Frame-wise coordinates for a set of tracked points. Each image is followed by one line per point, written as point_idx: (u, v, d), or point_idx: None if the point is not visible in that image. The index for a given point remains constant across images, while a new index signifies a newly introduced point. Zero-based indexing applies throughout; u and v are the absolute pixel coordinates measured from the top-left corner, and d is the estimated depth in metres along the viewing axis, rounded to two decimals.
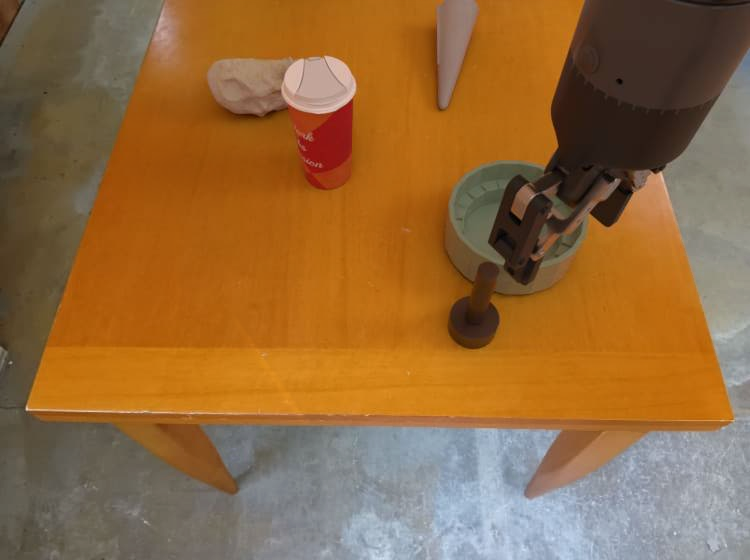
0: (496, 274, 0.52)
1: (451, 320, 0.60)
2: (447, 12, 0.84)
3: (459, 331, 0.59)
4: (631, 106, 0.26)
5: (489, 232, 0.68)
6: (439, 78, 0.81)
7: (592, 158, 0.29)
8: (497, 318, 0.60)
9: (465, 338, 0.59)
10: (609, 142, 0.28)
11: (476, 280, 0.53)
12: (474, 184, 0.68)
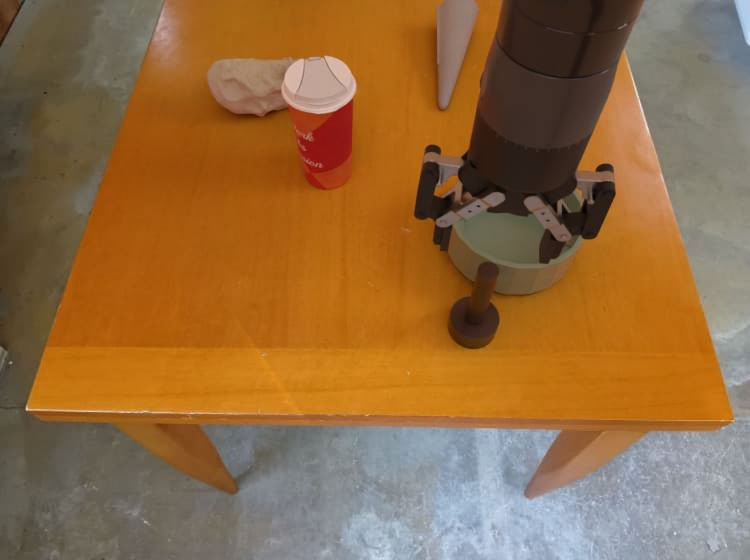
0: (496, 274, 0.52)
1: (451, 320, 0.60)
2: (447, 12, 0.84)
3: (459, 331, 0.59)
4: (484, 121, 0.35)
5: (489, 232, 0.68)
6: (439, 78, 0.81)
7: (471, 156, 0.39)
8: (497, 318, 0.60)
9: (465, 338, 0.59)
10: (476, 146, 0.37)
11: (476, 280, 0.53)
12: None
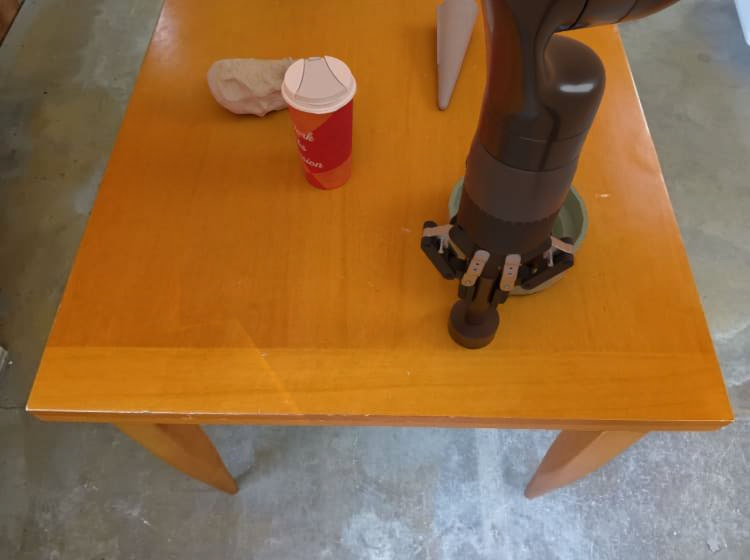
0: (496, 274, 0.52)
1: (451, 320, 0.60)
2: (447, 12, 0.84)
3: (459, 331, 0.59)
4: (469, 196, 0.42)
5: None
6: (439, 78, 0.81)
7: (459, 221, 0.45)
8: (497, 318, 0.60)
9: (465, 338, 0.59)
10: (463, 214, 0.44)
11: (476, 280, 0.53)
12: None
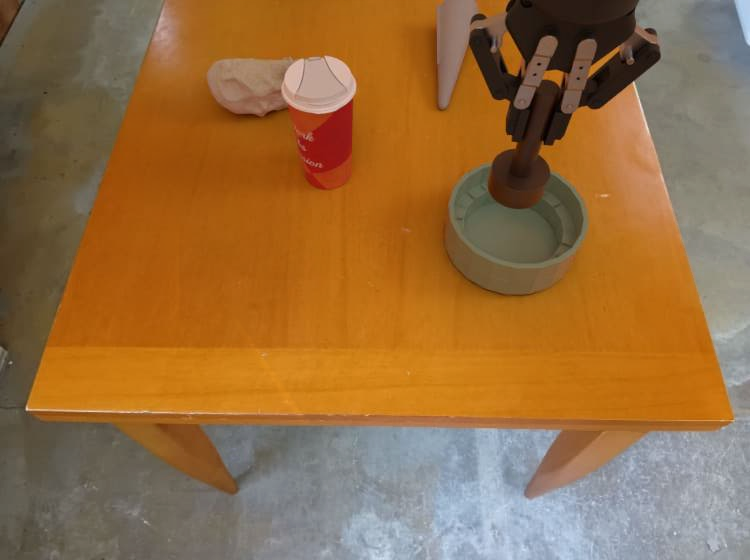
0: (556, 91, 0.43)
1: (493, 173, 0.51)
2: (447, 12, 0.84)
3: (504, 184, 0.50)
4: None
5: (489, 232, 0.68)
6: (439, 78, 0.81)
7: None
8: (547, 171, 0.51)
9: (510, 192, 0.50)
10: None
11: (530, 104, 0.44)
12: (474, 184, 0.68)
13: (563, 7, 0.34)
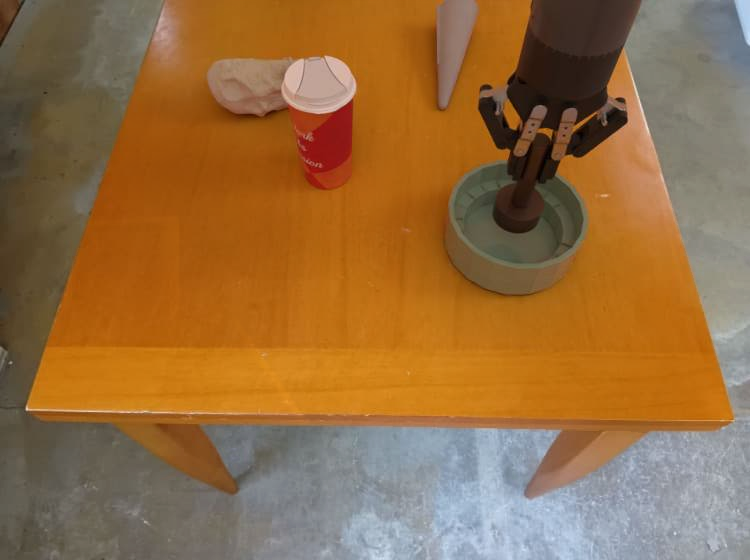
0: (548, 143, 0.54)
1: (497, 204, 0.61)
2: (447, 12, 0.84)
3: (506, 213, 0.61)
4: (534, 36, 0.43)
5: (489, 232, 0.68)
6: (439, 78, 0.81)
7: (520, 72, 0.47)
8: (542, 202, 0.61)
9: (511, 220, 0.61)
10: (526, 61, 0.45)
11: (527, 151, 0.55)
12: (474, 184, 0.68)
13: (550, 88, 0.45)
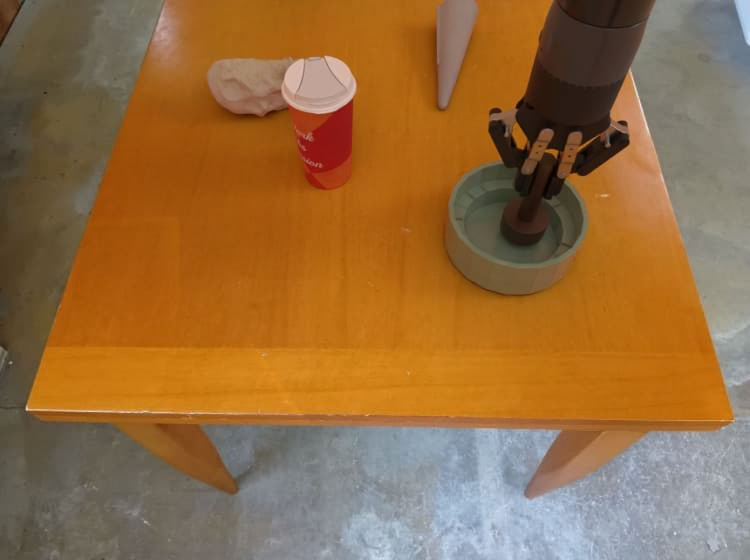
0: (553, 162, 0.57)
1: (505, 218, 0.64)
2: (447, 12, 0.84)
3: (513, 227, 0.64)
4: (542, 67, 0.46)
5: (489, 232, 0.68)
6: (439, 78, 0.81)
7: (529, 98, 0.50)
8: (547, 216, 0.64)
9: (518, 233, 0.64)
10: (534, 89, 0.48)
11: (534, 170, 0.58)
12: (474, 184, 0.68)
13: (557, 115, 0.48)
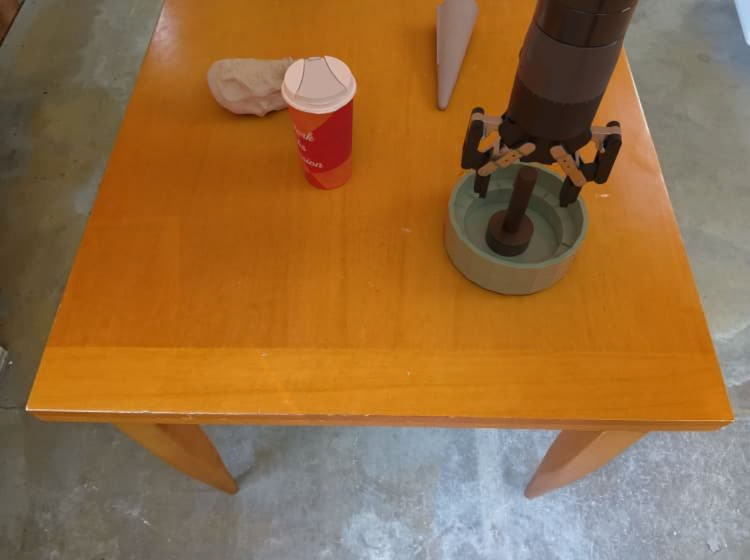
0: (535, 175, 0.58)
1: (489, 229, 0.65)
2: (447, 12, 0.84)
3: (497, 238, 0.65)
4: (522, 84, 0.47)
5: None
6: (439, 78, 0.81)
7: (510, 113, 0.50)
8: (531, 227, 0.65)
9: (502, 245, 0.65)
10: (515, 104, 0.49)
11: (516, 183, 0.59)
12: None
13: (537, 130, 0.49)
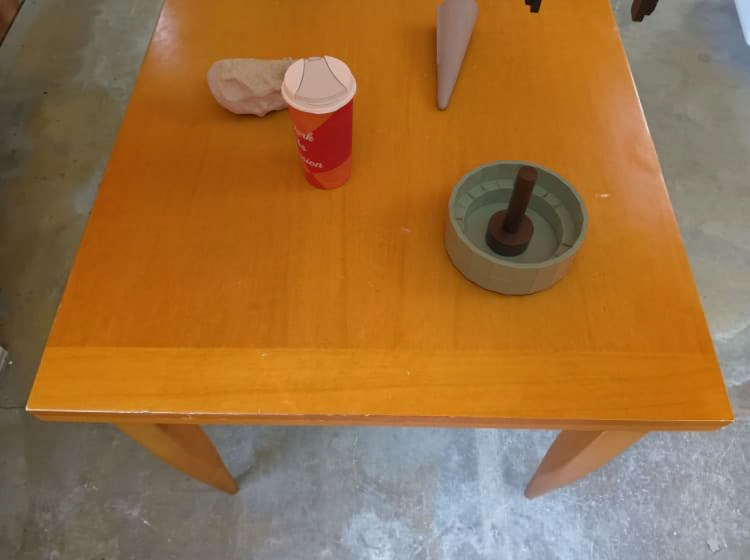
0: (535, 175, 0.58)
1: (489, 229, 0.65)
2: (447, 12, 0.84)
3: (497, 238, 0.65)
4: None
5: None
6: (438, 78, 0.81)
7: None
8: (531, 227, 0.65)
9: (502, 245, 0.65)
10: None
11: (516, 183, 0.59)
12: (474, 184, 0.68)
13: None
